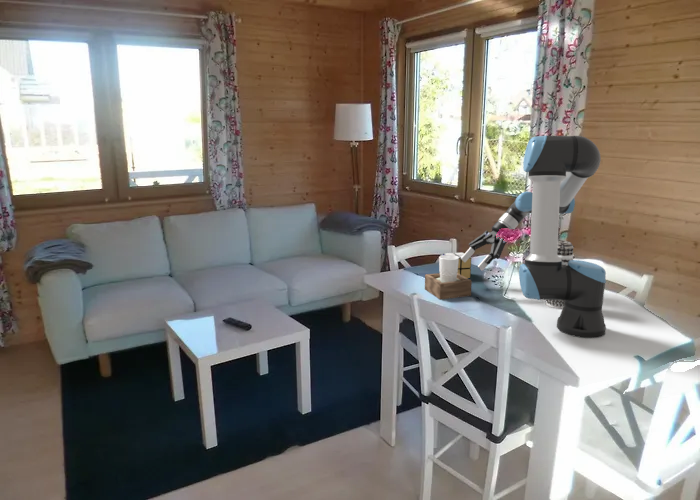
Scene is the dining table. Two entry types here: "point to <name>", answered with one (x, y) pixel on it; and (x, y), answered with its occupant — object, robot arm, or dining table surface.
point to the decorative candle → (565, 255)
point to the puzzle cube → (462, 265)
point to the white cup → (448, 267)
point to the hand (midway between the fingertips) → (471, 264)
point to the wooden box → (447, 286)
